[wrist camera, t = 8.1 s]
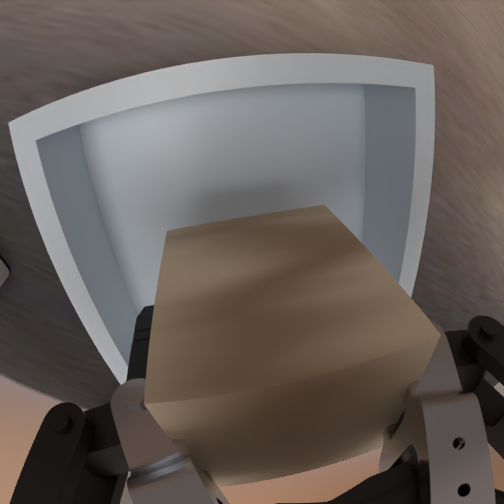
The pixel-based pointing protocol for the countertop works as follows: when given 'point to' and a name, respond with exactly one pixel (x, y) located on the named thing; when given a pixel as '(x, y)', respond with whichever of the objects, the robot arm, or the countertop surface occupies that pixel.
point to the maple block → (279, 345)
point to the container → (3, 272)
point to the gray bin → (223, 167)
